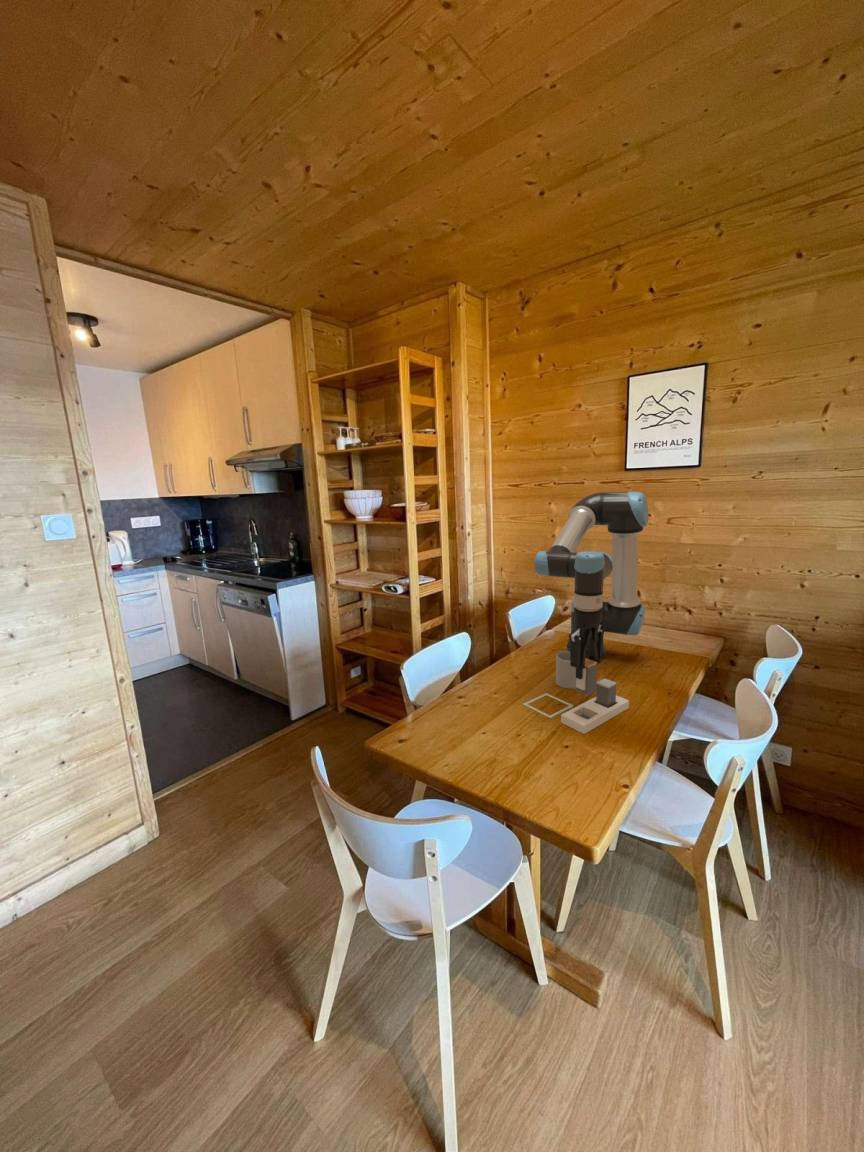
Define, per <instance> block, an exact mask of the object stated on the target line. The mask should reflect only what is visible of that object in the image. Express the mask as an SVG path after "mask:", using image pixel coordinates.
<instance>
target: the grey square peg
mask: <svg viewBox="0 0 864 1152" xmlns="http://www.w3.org/2000/svg"><path fill="white" fill-rule="evenodd" d="M595 693H596V695H595V697H596V703H598V704H600V705H602V706H605V707H607V708H609V707H611V706H613V705H615V704H616V695H617V682H615V681H613V680H611V679H608V678H606V677H604V678H603V679H600V680H598V681H596V692H595Z"/></svg>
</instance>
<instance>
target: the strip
mask: <svg viewBox="0 0 864 1152" xmlns="http://www.w3.org/2000/svg"><path fill="white" fill-rule="evenodd" d="M629 708H630V699H629V700H628V699H626V698H624V697H622V696H620V695H619V696H618V695H617V694H616V704H615V705H613V706H611V707H609V708H607V707H605V706H602V705H600V704H598V703H596V696H595V697H592V698H591V699H589V700H587V701H585V702H583V703H580V704H578V705H577V706H575V707H574V708H573V707H572V708H570V710H569V709H568V710H566V712H565V711H564V712H562V713H561V714H560V723H561V724H563V725H564V726H566V727H569V728H571V729H573V730H575V731H577V732H579V733H581V734H583V735H585V734H587V733H589V732H590V731H592V730H594V729H596V728H597V727H600V726H601V725H602V724H605V723H606V722H607V721H610V720H611V719H612V718H614V717H616V716H618V715H620V714H622V713H623V712H625V711H626V710H629Z"/></svg>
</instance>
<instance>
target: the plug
mask: <svg viewBox="0 0 864 1152" xmlns="http://www.w3.org/2000/svg"><path fill="white" fill-rule="evenodd" d="M597 666H598V663H597V662H595V661H593V660H590V659H587V658H586V659H585V665H584V668H586V690H582V689H579V688H577V687H576V688H575V691H576V692H578V693H580V694H582V695H585V696H589V695H592V694H593V693H596V690H597V676H598V675H597V673H598V672H597V668H598V667H597Z"/></svg>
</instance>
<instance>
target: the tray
mask: <svg viewBox="0 0 864 1152" xmlns="http://www.w3.org/2000/svg"><path fill="white" fill-rule="evenodd" d="M546 696H547V697H549V698H552V699H553V700H556V701H558V702H560V703H562V704H565V705H567V706H566V707H564V708H562V709H560V710H558V711H557V712H554V713H553V714H551V715H549V714H548V713H546V712H544V711H542V710H539V709H538V708H535V707H534V706H531V705H530V704H532V703H533V702H535V701H538V700H540V699H542V698H544V697H546ZM522 705H523V706H525V707H527V708H529V709H531V710H533V711H534V712H536V713H539V714H541V715H543V716H545V717H547V718H548V719H552V718H554V717H556V716H558V715H561V714H563V713H565V711H566V712H567V711H569V709H570V710H571V709H573V707H574V705H573V704H572V703H569V702H567V701H564V700H562V699H561V698H558V697H556V696H554V695H551V694H549V693H546V692H545V693H543V694H541V695H540V696H537V697H535V698H532V699H531V700H529V701H527V702H525V703H523V704H522Z"/></svg>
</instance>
